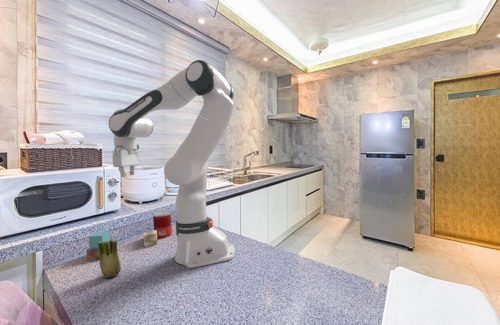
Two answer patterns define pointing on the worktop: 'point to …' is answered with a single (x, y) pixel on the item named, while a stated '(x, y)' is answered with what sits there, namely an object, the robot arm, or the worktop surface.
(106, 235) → the teal cube
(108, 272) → the fennel bulb
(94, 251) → the walnut slab
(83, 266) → the worktop surface
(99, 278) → the worktop surface
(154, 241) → the birch cube
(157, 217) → the canned food
